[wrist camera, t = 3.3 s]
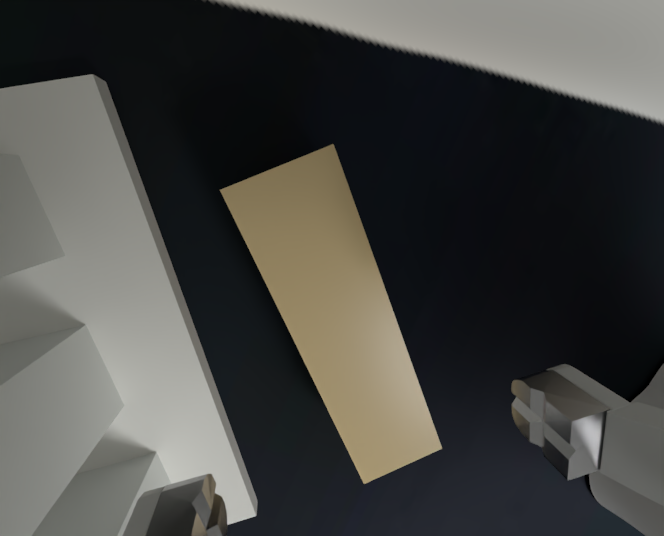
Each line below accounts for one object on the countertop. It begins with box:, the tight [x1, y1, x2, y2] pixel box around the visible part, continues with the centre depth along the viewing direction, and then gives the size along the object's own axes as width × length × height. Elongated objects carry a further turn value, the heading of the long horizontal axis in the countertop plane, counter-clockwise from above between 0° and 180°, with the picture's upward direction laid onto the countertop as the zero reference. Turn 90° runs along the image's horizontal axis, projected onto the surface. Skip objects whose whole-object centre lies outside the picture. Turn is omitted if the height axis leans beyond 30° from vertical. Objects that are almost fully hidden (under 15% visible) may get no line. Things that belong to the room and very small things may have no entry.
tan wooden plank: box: [220, 144, 442, 484], centre depth 16 cm, size 4×16×5 cm, turn 21°
